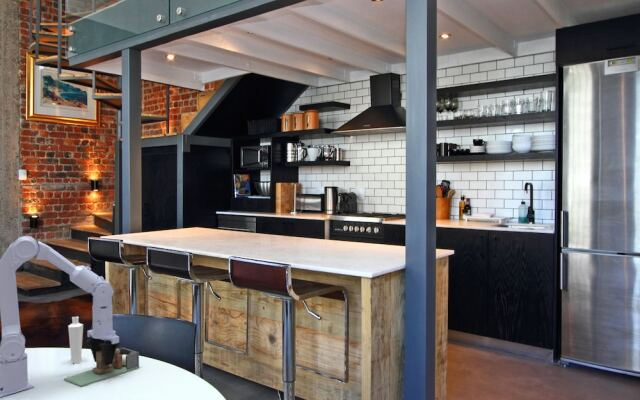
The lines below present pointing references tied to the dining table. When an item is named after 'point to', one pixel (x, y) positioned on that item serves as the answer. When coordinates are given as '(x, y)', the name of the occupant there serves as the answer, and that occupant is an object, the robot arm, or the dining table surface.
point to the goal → (130, 358)
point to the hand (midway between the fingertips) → (103, 362)
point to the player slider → (102, 368)
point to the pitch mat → (95, 376)
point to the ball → (123, 360)
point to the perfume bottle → (75, 340)
